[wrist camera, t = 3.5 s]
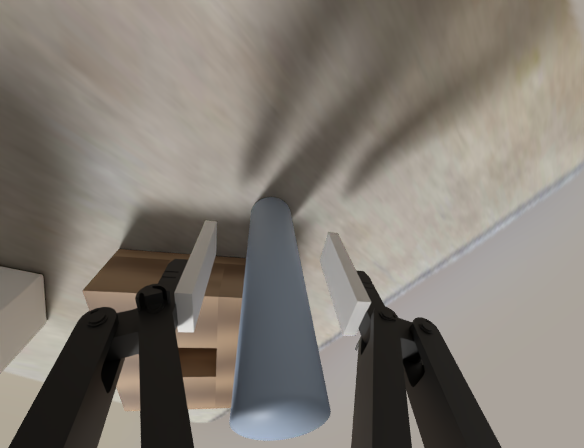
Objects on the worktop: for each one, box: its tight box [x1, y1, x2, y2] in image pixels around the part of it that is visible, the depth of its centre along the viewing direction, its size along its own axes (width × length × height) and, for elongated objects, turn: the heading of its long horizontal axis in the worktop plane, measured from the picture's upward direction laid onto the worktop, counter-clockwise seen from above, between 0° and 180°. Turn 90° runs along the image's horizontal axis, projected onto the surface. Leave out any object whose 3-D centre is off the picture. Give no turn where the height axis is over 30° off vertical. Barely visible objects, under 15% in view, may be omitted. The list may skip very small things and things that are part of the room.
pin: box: [230, 197, 331, 441], centre depth 15 cm, size 4×4×15 cm
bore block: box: [83, 249, 246, 411], centre depth 25 cm, size 18×14×5 cm
